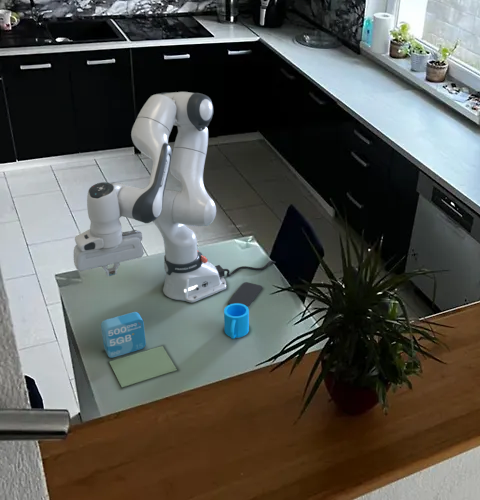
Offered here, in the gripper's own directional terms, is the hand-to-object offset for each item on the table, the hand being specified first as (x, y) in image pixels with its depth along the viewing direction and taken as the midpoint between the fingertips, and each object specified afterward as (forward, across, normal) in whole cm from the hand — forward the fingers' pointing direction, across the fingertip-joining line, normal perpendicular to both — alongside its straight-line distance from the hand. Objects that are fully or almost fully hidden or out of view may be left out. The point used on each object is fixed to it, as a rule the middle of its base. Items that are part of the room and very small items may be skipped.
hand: (111, 274), depth 214 cm
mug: (+24, -34, +16) cm, 45 cm away
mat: (+24, -2, +18) cm, 30 cm away
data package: (+24, 0, +8) cm, 25 cm away
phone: (+24, -46, -2) cm, 52 cm away
